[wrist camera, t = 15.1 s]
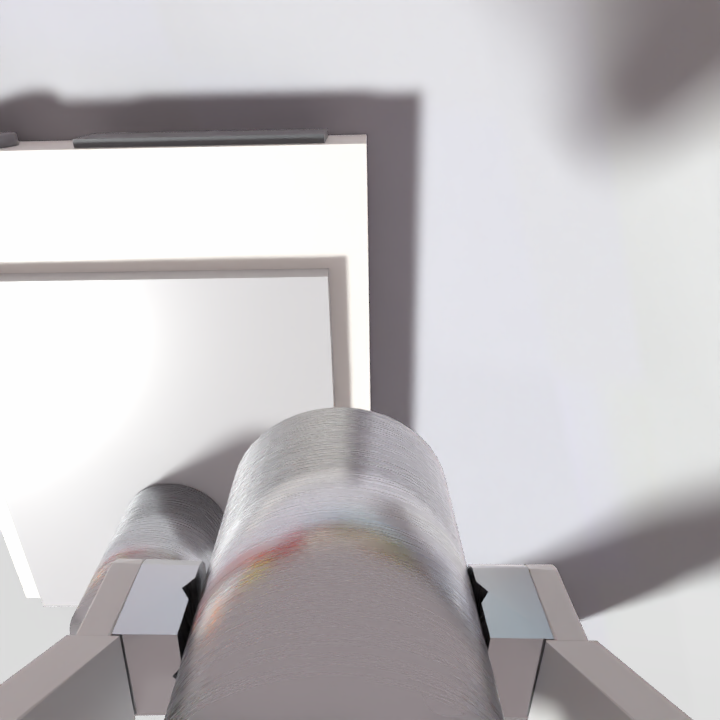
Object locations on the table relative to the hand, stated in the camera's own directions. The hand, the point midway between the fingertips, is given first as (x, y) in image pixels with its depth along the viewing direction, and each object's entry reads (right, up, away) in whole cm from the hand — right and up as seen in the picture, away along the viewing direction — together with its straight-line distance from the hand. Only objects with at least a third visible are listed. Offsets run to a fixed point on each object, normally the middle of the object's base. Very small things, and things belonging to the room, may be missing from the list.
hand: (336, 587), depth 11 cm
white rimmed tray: (-8, +3, +18) cm, 20 cm away
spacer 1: (-8, -3, +17) cm, 19 cm away
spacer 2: (0, +1, +2) cm, 2 cm away
